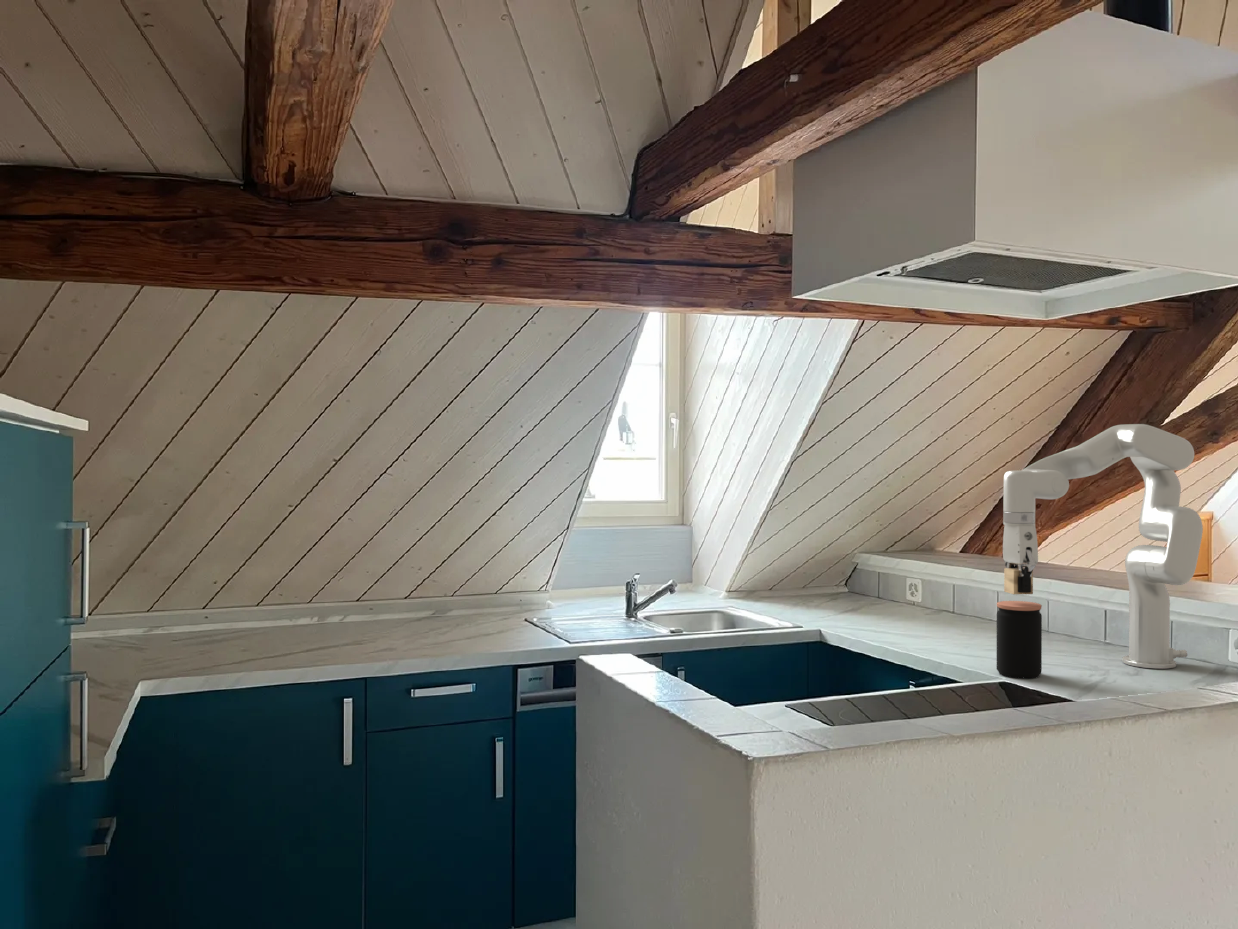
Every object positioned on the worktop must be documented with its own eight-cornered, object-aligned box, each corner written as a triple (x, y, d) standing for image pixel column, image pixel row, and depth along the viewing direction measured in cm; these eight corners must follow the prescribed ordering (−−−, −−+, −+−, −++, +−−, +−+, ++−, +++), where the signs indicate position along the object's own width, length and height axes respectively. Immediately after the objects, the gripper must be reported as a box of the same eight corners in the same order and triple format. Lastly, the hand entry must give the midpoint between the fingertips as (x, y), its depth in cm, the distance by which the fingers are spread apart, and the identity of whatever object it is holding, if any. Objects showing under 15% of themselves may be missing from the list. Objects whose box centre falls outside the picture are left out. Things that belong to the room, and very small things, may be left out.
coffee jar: (1030, 669, 259) (1030, 600, 258) (1049, 679, 248) (1049, 607, 248) (989, 670, 258) (989, 600, 258) (1007, 679, 248) (1007, 607, 247)
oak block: (1023, 591, 255) (1023, 568, 255) (1032, 594, 250) (1032, 570, 250) (1004, 591, 255) (1004, 568, 255) (1013, 594, 250) (1013, 570, 250)
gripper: (1050, 521, 244) (1050, 595, 245) (1017, 517, 261) (1016, 586, 262) (1021, 521, 244) (1020, 595, 244) (989, 517, 261) (989, 586, 261)
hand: (1018, 590), depth 253 cm, fingers closed on oak block, 5 cm apart
